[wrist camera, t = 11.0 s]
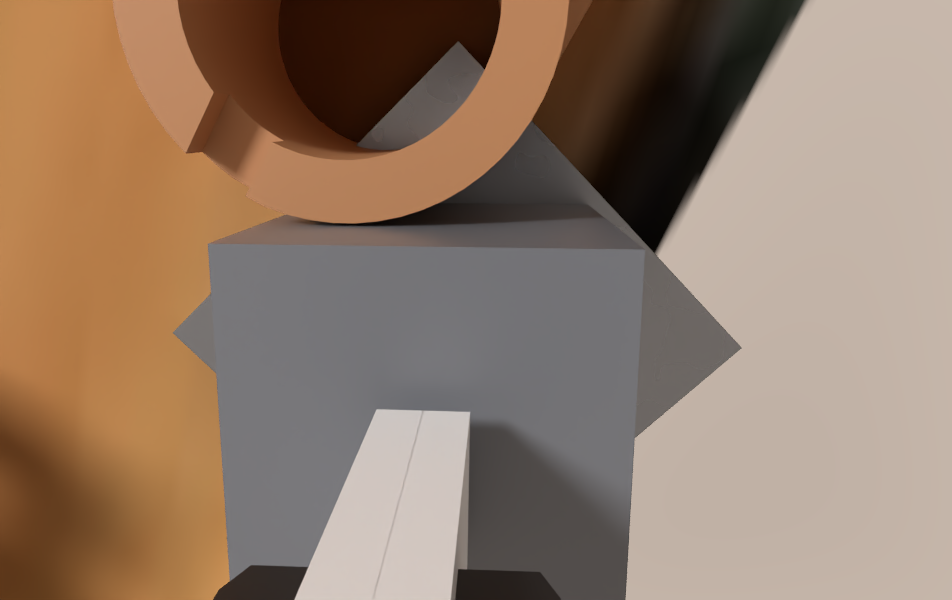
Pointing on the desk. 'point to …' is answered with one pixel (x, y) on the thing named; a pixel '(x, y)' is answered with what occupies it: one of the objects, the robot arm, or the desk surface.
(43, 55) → the desk surface
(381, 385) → the squarish grey box
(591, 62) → the desk surface
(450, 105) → the shaft base
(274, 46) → the bracket
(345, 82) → the desk surface
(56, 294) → the desk surface
